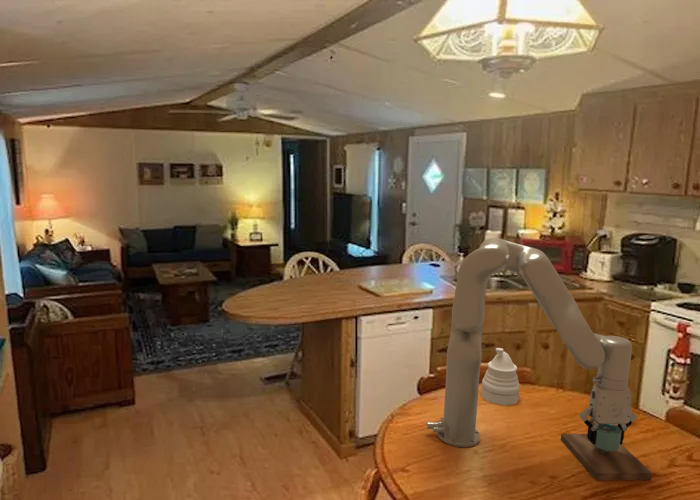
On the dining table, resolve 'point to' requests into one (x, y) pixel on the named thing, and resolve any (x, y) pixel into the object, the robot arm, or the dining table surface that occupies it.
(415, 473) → the dining table surface
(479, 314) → the robot arm
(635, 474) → the rod stand
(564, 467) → the dining table surface
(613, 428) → the bead
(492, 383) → the honey pot
